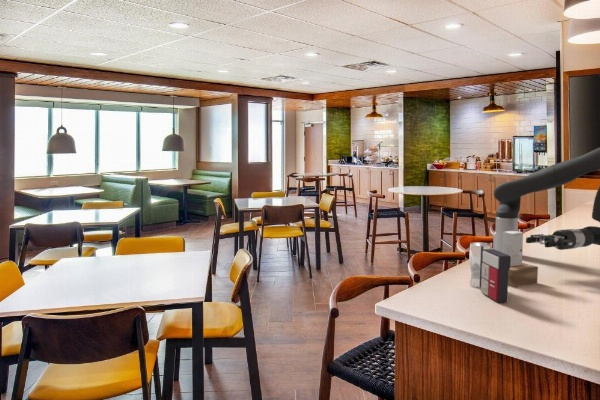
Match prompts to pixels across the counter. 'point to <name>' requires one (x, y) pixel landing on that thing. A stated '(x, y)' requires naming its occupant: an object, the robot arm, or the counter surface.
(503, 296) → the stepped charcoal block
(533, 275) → the walnut block
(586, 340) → the counter surface
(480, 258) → the beer glass
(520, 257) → the skincare box
